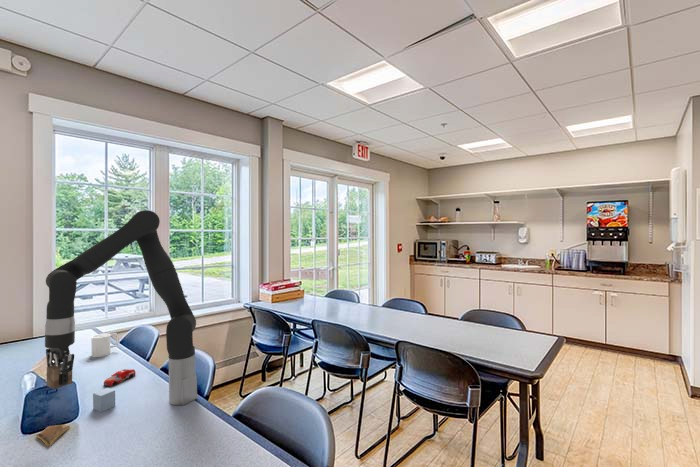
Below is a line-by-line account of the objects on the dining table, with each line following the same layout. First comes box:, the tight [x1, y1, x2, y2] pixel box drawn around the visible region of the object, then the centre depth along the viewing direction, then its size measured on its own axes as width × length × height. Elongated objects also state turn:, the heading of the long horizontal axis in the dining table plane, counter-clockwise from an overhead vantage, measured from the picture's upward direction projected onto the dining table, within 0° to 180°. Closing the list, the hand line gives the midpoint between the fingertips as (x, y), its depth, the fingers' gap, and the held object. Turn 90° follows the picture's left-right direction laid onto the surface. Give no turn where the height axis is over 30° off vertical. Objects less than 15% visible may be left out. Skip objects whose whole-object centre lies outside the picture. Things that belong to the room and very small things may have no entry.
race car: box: [103, 368, 136, 387], centre depth 153 cm, size 13×5×4 cm, turn 161°
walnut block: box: [46, 362, 73, 390], centre depth 114 cm, size 5×5×6 cm
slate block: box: [92, 387, 116, 413], centre depth 130 cm, size 5×5×6 cm
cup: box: [90, 332, 119, 358], centre depth 187 cm, size 8×12×10 cm
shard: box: [36, 424, 71, 447], centre depth 111 cm, size 11×8×2 cm
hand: (59, 382), depth 114 cm, fingers closed on walnut block, 5 cm apart
